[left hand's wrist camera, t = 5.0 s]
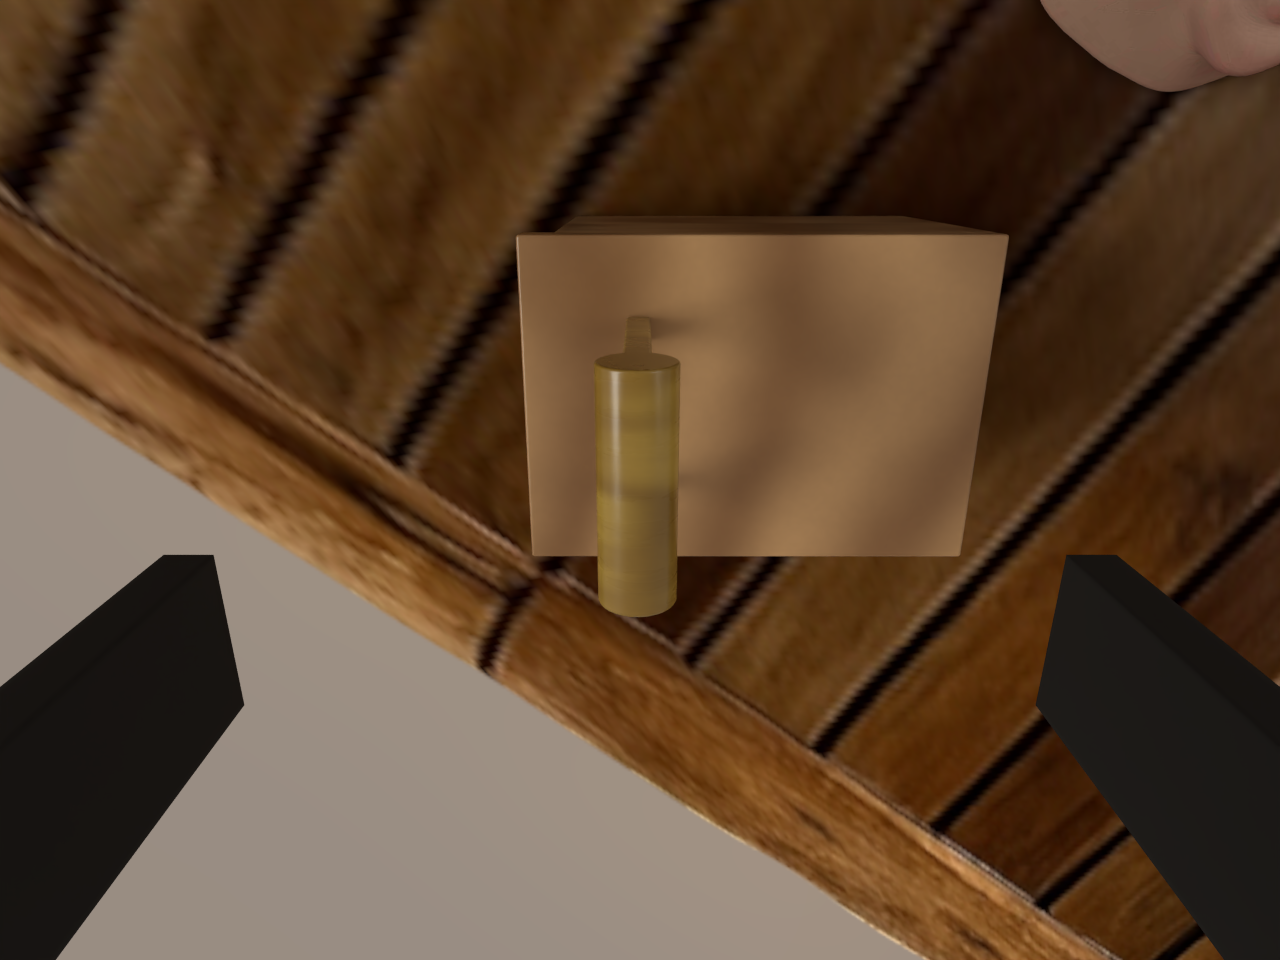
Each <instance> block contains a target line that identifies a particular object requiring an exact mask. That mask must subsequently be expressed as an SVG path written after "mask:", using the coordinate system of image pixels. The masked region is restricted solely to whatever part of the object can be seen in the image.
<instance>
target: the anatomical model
mask: <svg viewBox="0 0 1280 960" xmlns="http://www.w3.org/2000/svg"><path fill="white" fill-rule="evenodd" d="M1040 1H1041V3H1042V5H1043V7H1044V8H1045V10H1046V11H1047V13H1048V14H1049V16H1050V17H1051V18H1052V19H1053V20H1054V21H1055V22H1056V23H1057V24H1058V26H1059V27H1060V28H1061V29H1062V30H1063V31H1064V32H1065V33H1066V34H1067V35H1069V36H1070V37H1071V38H1072V39H1073V40H1075V41H1076V42H1077V43H1078V44H1079V45H1080V46H1082V47H1083V48H1084V49H1085V50H1086V51H1088V52H1089V53H1090V54H1091V55H1092V56H1094V57H1095V58H1096V59H1097V60H1099V61H1100V62H1101V63H1103V64H1104V65H1106V66H1107V67H1108V68H1110V69H1112V70H1114V71H1116V72H1118V73H1119V74H1121V75H1123V76H1125V77H1127V78H1129V79H1130V80H1132V81H1134V82H1136V83H1138V84H1140V85H1142V86H1144V87H1147V88H1150V89H1153V90H1156V91H1164V92H1174V91H1182V90H1186V89H1190V88H1194V87H1197V86H1201V85H1203V84H1206V83H1209V82H1212V81H1214V80H1217V79H1220V78H1223V77H1225V76H1228V75H1230V76H1249V75H1253V74H1256V73H1259V72H1262V71H1264V70H1267V69H1269V68H1272V67H1274V66H1276V65H1278V64H1280V0H1040Z"/></svg>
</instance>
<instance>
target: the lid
mask: <svg viewBox="0 0 1280 960" xmlns="http://www.w3.org/2000/svg"><path fill="white" fill-rule="evenodd" d="M1008 240H1009V235H1007V234H1002V233H520V234H518V235H517V236H516V250H517V269H518V289H519V308H520V327H521V346H522V366H523V385H524V404H525V423H526V443H527V462H528V481H529V500H530V520H531V539H532V554H533V556H598V597H599V601H600V603H601V605H602V606H603V607H604V608H605V609H607V610H609V611H610V612H613V613H615V614H618V615H622V616H629V617H646V616H652V615H656V614H660V613H662V612H664V611H666V610H668V609H669V608H671V607H672V606H673V604H674V603H675V601H676V596H677V556H960V552H961V546H962V539H963V533H964V526H965V520H966V513H967V507H968V500H969V494H970V487H971V481H972V474H973V468H974V461H975V455H976V448H977V442H978V435H979V429H980V422H981V416H982V409H983V403H984V396H985V390H986V383H987V377H988V370H989V364H990V357H991V351H992V344H993V338H994V331H995V325H996V318H997V312H998V305H999V299H1000V292H1001V286H1002V279H1003V273H1004V266H1005V260H1006V253H1007V247H1008Z"/></svg>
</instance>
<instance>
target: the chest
mask: <svg viewBox="0 0 1280 960" xmlns="http://www.w3.org/2000/svg"><path fill="white" fill-rule="evenodd" d="M555 233H995V232H991V231H985V230H980V229H974V228H968V227H962V226H957V225H951V224H945V223H940V222H934V221H928V220H922V219H917V218H911V217H905V216H577V217H576V218H574V219H573V220H571V221H570V222H568V223H567V224H566V225H564V226H563V227H562V228H560V229H559V230H557V231H556V232H555Z"/></svg>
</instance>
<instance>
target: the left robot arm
mask: <svg viewBox="0 0 1280 960" xmlns="http://www.w3.org/2000/svg"><path fill="white" fill-rule="evenodd" d="M243 706H244V701H243V697H242V692H241V687H240V682H239V677H238V672H237V668H236V662H235V658H234V653H233V648H232V643H231V638H230V633H229V628H228V624H227V619H226V614H225V609H224V604H223V599H222V594H221V589H220V585H219V580H218V575H217V570H216V565H215V560H214V556H213V555H163V556H162V557H161V558H159V559H158V560H157V561H156V562H154V563H153V564H152V565H151V566H149V567H148V568H147V569H146V570H144V571H143V572H142V573H141V574H139V575H138V576H137V577H136V578H135V579H133V580H132V581H131V582H130V583H128V584H127V585H126V586H125V587H123V588H122V589H121V590H120V591H118V592H117V593H116V594H115V595H113V596H112V597H111V598H110V599H109V600H107V601H106V602H105V603H104V604H102V605H101V606H100V607H99V608H97V609H96V610H95V611H94V612H92V613H91V614H90V615H89V616H87V617H86V618H85V619H84V620H83V621H81V622H80V623H79V624H78V625H76V626H75V627H74V628H73V629H71V630H70V631H69V632H68V633H66V634H65V635H64V636H63V637H62V638H60V639H59V640H58V641H57V642H55V643H54V644H53V645H52V646H50V647H49V648H48V649H47V650H45V651H44V652H43V653H42V654H40V655H39V656H38V657H37V658H36V659H34V660H33V661H32V662H31V663H29V664H28V665H27V666H26V667H24V668H23V669H22V670H21V671H19V672H18V673H17V674H16V675H14V676H13V677H12V678H11V679H9V680H8V681H7V682H6V683H5V684H3V685H2V686H1V687H0V960H56V959H57V957H58V956H59V955H60V953H61V952H62V951H63V949H64V948H65V947H66V945H67V944H68V942H69V941H70V940H71V938H72V937H73V936H74V934H75V933H76V932H77V930H78V929H79V928H80V926H81V925H82V924H83V922H84V921H85V919H86V918H87V917H88V915H89V914H90V913H91V911H92V910H93V909H94V907H95V906H96V905H97V903H98V902H99V901H100V899H101V898H102V897H103V895H104V894H105V892H106V891H107V890H108V888H109V887H110V886H111V884H112V883H113V882H114V880H115V879H116V878H117V876H118V875H119V874H120V872H121V871H122V870H123V868H124V867H125V865H126V864H127V863H128V861H129V860H130V859H131V857H132V856H133V855H134V853H135V852H136V851H137V849H138V848H139V847H140V845H141V844H142V842H143V841H144V840H145V838H146V837H147V836H148V834H149V833H150V832H151V830H152V829H153V828H154V826H155V825H156V824H157V822H158V821H159V820H160V818H161V817H162V815H163V814H164V813H165V811H166V810H167V809H168V807H169V806H170V805H171V803H172V802H173V801H174V799H175V798H176V797H177V795H178V794H179V792H180V791H181V790H182V788H183V787H184V786H185V784H186V783H187V782H188V780H189V779H190V778H191V776H192V775H193V774H194V772H195V771H196V770H197V768H198V767H199V765H200V764H201V763H202V761H203V760H204V759H205V757H206V756H207V755H208V753H209V752H210V751H211V749H212V748H213V747H214V745H215V744H216V742H217V741H218V740H219V738H220V737H221V736H222V734H223V733H224V732H225V730H226V729H227V728H228V726H229V725H230V724H231V722H232V721H233V719H234V718H235V717H236V715H237V714H238V713H239V711H240V710H241V709H242V707H243ZM1036 706H1037V707H1038V709H1039V710H1040V711H1041V713H1042V714H1043V715H1044V717H1045V718H1046V720H1047V721H1048V722H1049V724H1050V725H1051V726H1052V728H1053V729H1054V730H1055V732H1056V733H1057V734H1058V736H1059V737H1060V738H1061V740H1062V741H1063V742H1064V744H1065V745H1066V747H1067V748H1068V749H1069V751H1070V752H1071V753H1072V755H1073V756H1074V757H1075V759H1076V760H1077V761H1078V763H1079V764H1080V765H1081V767H1082V768H1083V770H1084V771H1085V772H1086V774H1087V775H1088V776H1089V778H1090V779H1091V780H1092V782H1093V783H1094V784H1095V786H1096V787H1097V788H1098V790H1099V791H1100V792H1101V794H1102V795H1103V797H1104V798H1105V799H1106V801H1107V802H1108V803H1109V805H1110V806H1111V807H1112V809H1113V810H1114V811H1115V813H1116V814H1117V815H1118V817H1119V818H1120V820H1121V821H1122V822H1123V824H1124V825H1125V826H1126V828H1127V829H1128V830H1129V832H1130V833H1131V834H1132V836H1133V837H1134V838H1135V840H1136V841H1137V842H1138V844H1139V845H1140V847H1141V848H1142V849H1143V851H1144V852H1145V853H1146V855H1147V856H1148V857H1149V859H1150V860H1151V861H1152V863H1153V864H1154V865H1155V867H1156V868H1157V870H1158V871H1159V872H1160V874H1161V875H1162V876H1163V878H1164V879H1165V880H1166V882H1167V883H1168V884H1169V886H1170V887H1171V888H1172V890H1173V891H1174V892H1175V894H1176V895H1177V897H1178V898H1179V899H1180V901H1181V902H1182V903H1183V905H1184V906H1185V907H1186V909H1187V910H1188V911H1189V913H1190V914H1191V915H1192V917H1193V918H1194V920H1195V921H1196V922H1197V924H1198V925H1199V926H1200V928H1201V929H1202V930H1203V932H1204V933H1205V934H1206V936H1207V937H1208V938H1209V940H1210V941H1211V942H1212V944H1213V945H1214V947H1215V948H1216V949H1217V951H1218V952H1219V953H1220V955H1221V956H1222V957H1223V959H1224V960H1280V687H1279V686H1278V685H1277V684H1275V683H1274V682H1273V681H1272V680H1271V679H1269V678H1268V677H1267V676H1266V675H1264V674H1263V673H1262V672H1261V671H1259V670H1258V669H1257V668H1256V667H1254V666H1253V665H1252V664H1251V663H1249V662H1248V661H1247V660H1246V659H1245V658H1243V657H1242V656H1241V655H1240V654H1238V653H1237V652H1236V651H1235V650H1233V649H1232V648H1231V647H1230V646H1228V645H1227V644H1226V643H1225V642H1223V641H1222V640H1221V639H1220V638H1219V637H1217V636H1216V635H1215V634H1214V633H1212V632H1211V631H1210V630H1209V629H1207V628H1206V627H1205V626H1204V625H1202V624H1201V623H1200V622H1199V621H1197V620H1196V619H1195V618H1194V617H1193V616H1191V615H1190V614H1189V613H1188V612H1186V611H1185V610H1184V609H1183V608H1181V607H1180V606H1179V605H1178V604H1176V603H1175V602H1174V601H1173V600H1171V599H1170V598H1169V597H1168V596H1167V595H1165V594H1164V593H1163V592H1162V591H1160V590H1159V589H1158V588H1157V587H1155V586H1154V585H1153V584H1152V583H1150V582H1149V581H1148V580H1147V579H1145V578H1144V577H1143V576H1142V575H1141V574H1139V573H1138V572H1137V571H1136V570H1134V569H1133V568H1132V567H1131V566H1129V565H1128V564H1127V563H1126V562H1124V561H1123V560H1122V559H1121V558H1119V557H1118V556H1117V555H1066V560H1065V565H1064V570H1063V575H1062V580H1061V584H1060V589H1059V594H1058V599H1057V604H1056V609H1055V614H1054V619H1053V623H1052V628H1051V633H1050V638H1049V643H1048V648H1047V653H1046V658H1045V662H1044V667H1043V672H1042V677H1041V682H1040V687H1039V692H1038V697H1037V701H1036Z"/></svg>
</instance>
